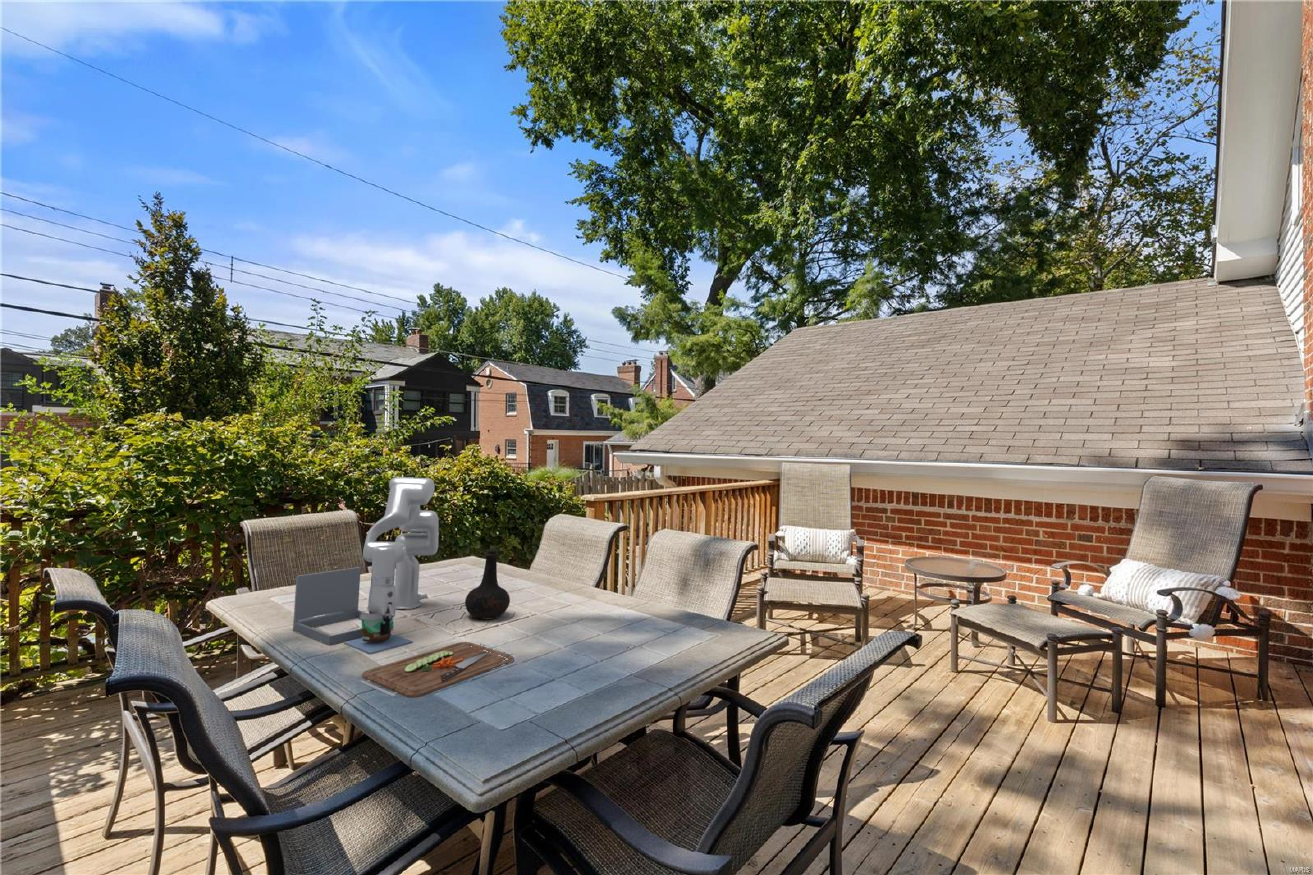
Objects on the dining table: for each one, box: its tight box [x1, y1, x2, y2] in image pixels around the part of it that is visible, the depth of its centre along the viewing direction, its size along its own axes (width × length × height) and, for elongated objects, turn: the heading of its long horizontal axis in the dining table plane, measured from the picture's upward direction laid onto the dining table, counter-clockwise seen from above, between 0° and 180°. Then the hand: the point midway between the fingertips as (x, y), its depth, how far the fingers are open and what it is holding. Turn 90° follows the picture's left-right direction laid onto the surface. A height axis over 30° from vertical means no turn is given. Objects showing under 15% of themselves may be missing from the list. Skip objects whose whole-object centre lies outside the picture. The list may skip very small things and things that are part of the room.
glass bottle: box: [464, 548, 511, 619], centre depth 245 cm, size 18×18×28 cm
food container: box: [359, 612, 396, 642], centre depth 206 cm, size 12×6×10 cm, turn 145°
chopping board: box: [360, 641, 515, 698], centre depth 187 cm, size 45×27×3 cm, turn 148°
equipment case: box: [292, 566, 395, 646], centre depth 218 cm, size 24×25×20 cm
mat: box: [343, 633, 414, 655], centre depth 206 cm, size 16×16×1 cm
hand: (379, 631), depth 206 cm, fingers closed on food container, 5 cm apart
